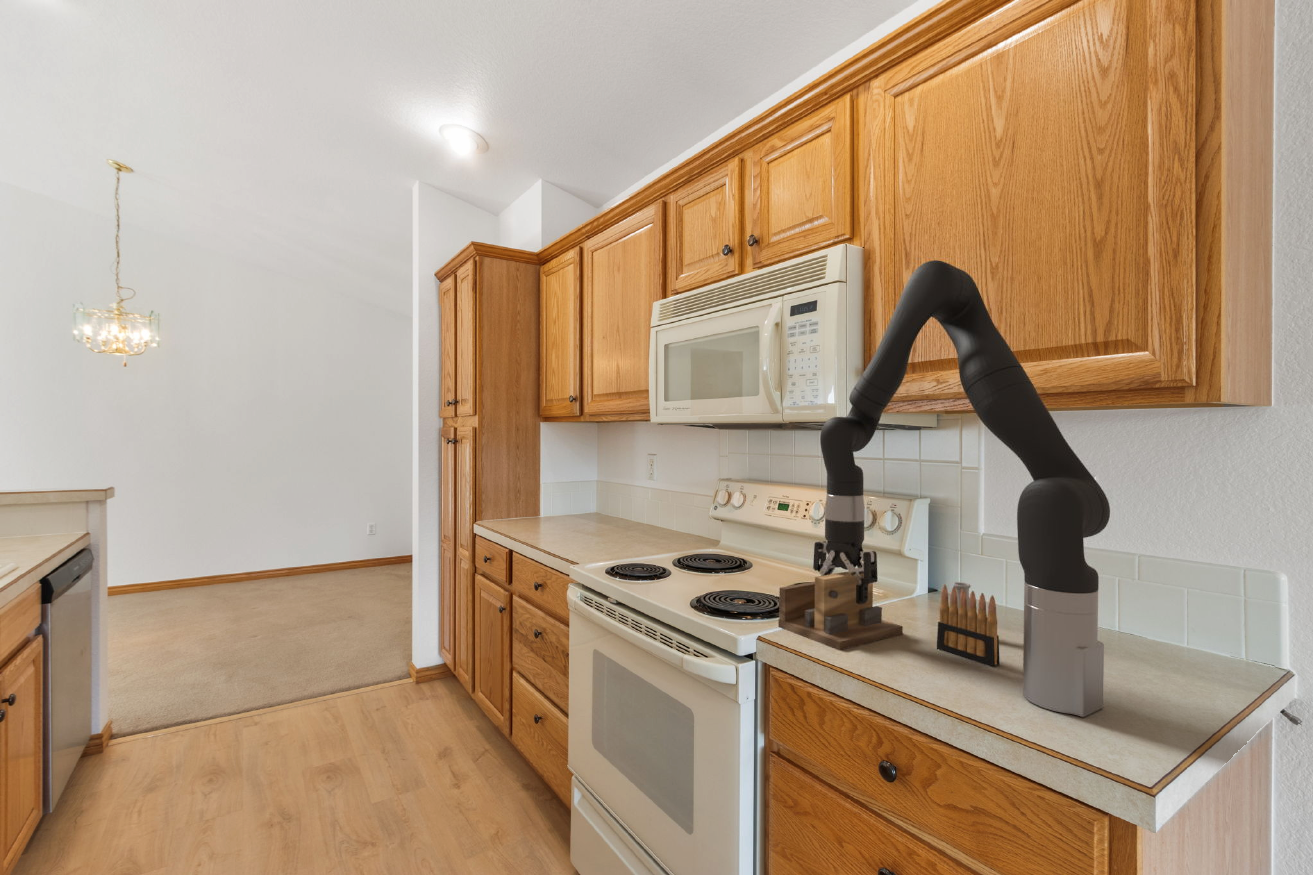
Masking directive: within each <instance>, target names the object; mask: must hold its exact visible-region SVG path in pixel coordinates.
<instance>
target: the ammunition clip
mask: <svg viewBox="0 0 1313 875" xmlns="http://www.w3.org/2000/svg"><path fill="white" fill-rule="evenodd" d="M996 604H997V603H996V600H995V597H994V595H993V594H992V595H990V598H989V601H988V610H987V602H986V598H985V595H984V593H983V592H981V594H980V595H979V600H978V605H977V597H976V594H975V591H974V590H971V592H970V593H969V609H968V611H967V597H966V593H965V590H964V589H962V591H961V594H960V604H959V611H958V603H957V592H956V589H955V587H954V586H953V587H952V588H951V591H950V597H949V593H948V588H947V585H946V584H943V586H942V589H941V594H940V606H939V621H938V622H937V636H936V650H938V649H939V651H941V652H944V653H948V654H951V655H954V656H957V657H960V658H963V659H967V660H968V661H969V660H970V661H972V662H975V663H979V664H981V665H985V666H988V667H991V668H994V667H998V666H1000V664H1001V662H1000V638H999V634H998V618H997V605H996ZM977 606H978V609H977Z"/></svg>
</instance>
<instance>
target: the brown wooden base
mask: <svg viewBox="0 0 1313 875" xmlns="http://www.w3.org/2000/svg"><path fill="white" fill-rule="evenodd" d="M778 594H779V599H778V600H779V602H778V603H779V607H778V608H779V610H778V612H779V613H778V614H779V616H778V617H779V618H778V625H777V626H778V628H781V629H784V630H786V629H787V631H790V632H792V633H794V634H797V635H800V636H802V637H805V638H807V639H810V640H811V641H814V642H818V643H820V644H823V645H825V646H828V647H831V648H833V649H835V650H838V651H841V650H845V649H849V648H852V647H853V648H854V647H856V646H859V645H864V644H867V643H873V642H876V641H880V640H884V639H887V638H891V637H895V636H899V635H903V629H904V628H903V625H900V624H898V623H895V622H894V623H893V622H889V621H887V620H884V619H882V617H883V616H882V615H883V613H882V612H883V607H882V606H878V605H875V606H873V607H870V608H865V609H861V610H860V623H858V624H854V625H850V626H848V615H847V614H843V613H842V614H837V615H833V616H828V617H825V631H821V630H818V629H816V628H814V624H815V581H811V582H804V583H798V584H792V585H786V586H782V587H781V586H780V587H779V593H778Z"/></svg>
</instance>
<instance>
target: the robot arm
mask: <svg viewBox="0 0 1313 875" xmlns="http://www.w3.org/2000/svg"><path fill="white" fill-rule="evenodd" d="M904 286H905V287H904V289H903V290H902V293H901V295H900V298H899V300H898V302H897V304H896V306H895V309H894V312H893V313H892V316H891V318H890V320H889V321H888V322H889V323H888V325H887V327H886V330H885V332H884V334H883V336H882V338H881V341H880V342H879V345H878V347H877V348H876V351H875V352H874V354H873V356H872V358H871V360H870V361H869V363H868V365H867V367H866V368H865V370H864V371H863V373H862V375H861V376H860V377H859V379H858V381H857V382H856V383H855V385H854V387H853V389H851V392H850V394H849V398H848V400H849V403H850V404H851V408H850V410H849V412H848V414H847V416H834V417H830V418H829V419H828V420H827V421H826V422H824V424H823V426H822V428H821V431H820V438H819V440H820V441H819V443H820V448H821V454H822V459H823V463H824V468H825V470H826V499H825V504H824V538H825V540H821V541H816V542H814V546H813V564H812V565H813V566H812V568H813V570H814V571H817V572H818V573H819V574H820V576H824V575H830V574H833V572H834V571H835V570H836V569H837V568H840V569H843V570H845V571H847V572H848V571H849V573H850V574H851V575H853V577H854V579H855V581H856V582H857V585H856V603H857V604H864V603H866V601H867V600H868V585H869V584H870V583H873V584H875V583H877V582H878V580H879V578H878V557H877V556H878V555H877V551H876V550H871V551H870V550H869V551H867V550H864V549H863V543H864V541H865V516H866V515H865V512H866V511H865V501H864V500H865V499H864V471H863V469H862V468H861V467H860V466H859V465H857V464H856V462H855V456H854V453H855V452H859V451H861V450H863V449H864V448H865V447H866V446H867V445H868V444H869V443H870V441H871V440H872V439H873V437H874V435H875V433H876V430H877V428H878V425H879V423H880V421H881V417H882V414H883V412H884V411H885V409H886V408H887V406H888V405H889V403H890V402H891V401H892V399H893V397H894V396H895V395H896V393H897V391H899V388H900V387H901V385H902V383H903V381H904V379H905V376H906V372H907V369H908V365H909V360H910V357H911V356H910V355H911V352H912V348H913V345H914V343H915V342H916V339H917V337H918V336H919V333H921V332H920V331H921V330H922V329H923V327H924V326H925V325H926V323H928V321H929V320H930V319H931V318H934V319H935V320H936V321H937V322H938V323H939V325H940V326H941V327H942V328H943V329H944V332H945V333H946V334H947V336H948V338H950V339H949V340H950V341H951V342H952V344H953V346H954V349H955V352H956V355H957V362H958V363H957V364H958V374H959V379H960V380H959V381H960V383H961V386H962V390H963V391H964V394H965V396H966V397H967V399H968V401H969V403H970V405H971V407H972V409H973V410H974V412H975V414H976V415H977V417H978V418H979V421H981V422H982V424H984V426H985V427H986V428H987V429H988V430H989V431H990V432H991V433H992V434H993V435H994V436H995V437H996V438H997V439H998V440H999V441H1000V442H1002V444H1004V445H1005V446H1006V447H1007V448H1008V449H1009V450H1010V451H1012V452H1013V453H1014V455H1015V456H1016V457H1017V458H1019V460H1020V461H1021V462H1022V464H1023V465H1024V466H1025V468H1026V469H1027V470H1028V471H1027V472H1028V473H1029V475H1030V477H1031V478H1032V480H1033V481H1031V482H1030V483H1029V484H1027V485H1026V486H1025V487H1024V488H1023V490H1022V492H1021V493H1020V496H1019V499H1018V503H1017V508H1016V510H1017V511H1016V512H1017V513H1016V514H1017V516H1016V522H1017V523H1016V524H1017V525H1016V526H1017V527H1016V529H1017V530H1016V531H1017V549H1018V550H1017V552H1018V558H1019V563H1020V565H1021V567H1022V570H1023V575H1024V579H1023V580H1024V581H1023V582H1024V585H1023V587H1024V589H1023V592H1024V593H1023V647H1022V648H1023V649H1022V650H1023V651H1022V656H1023V657H1022V660H1023V661H1022V668H1023V669H1022V695H1023V697H1024V698H1025V699H1026V700H1027V701H1028V702H1030V703H1032V704H1033V705H1036V706H1038V707H1041V708H1044V709H1046V710H1050V711H1054V712H1058V713H1061V714H1062V713H1063V714H1069V715H1074V716H1075V715H1076V716H1078V717H1081V718H1084V717H1087V716H1089V715H1091V714H1093V713H1095V712H1097V711H1099V710H1102V709H1103V708H1104V678H1105V677H1104V676H1105V675H1104V672H1105V671H1104V665H1105V661H1104V660H1105V655H1104V654H1105V644H1104V642H1102V641H1100V640H1098V639H1099V638H1098V635H1099V634H1098V632H1099V630H1098V629H1099V624H1098V623H1099V587H1100V586H1099V583H1100V582H1099V574H1098V571H1097V570H1096V569H1095V568H1094V567H1092V566H1090V565H1089V564H1088V563H1087V561H1086V558H1085V546H1084V545H1085V543H1084V541H1085V540H1084V539H1085V538H1090V537H1091V538H1092V537H1094V536H1095V535H1098V534H1100V533H1102V531H1103V530H1105V528H1106V527H1107V526H1108V523H1109V521H1110V517H1111V516H1110V515H1111V507H1110V502H1109V499H1108V497H1107V495H1106V493H1105V492H1104V490H1103V489H1102V487H1101V485H1100V484H1099V483H1098V482H1097V480H1096V479H1095V477H1094V476H1093V475H1092V474H1091V472H1090V471H1089V470H1088V468H1087V467H1086V466H1085V464H1084V463H1083V462H1082V460H1080V458H1079V457H1078V456H1077V454H1076V453H1075V452H1074V450H1073V449H1072V447H1071V446H1070V445H1069V443H1068V442H1067V440H1066V439H1065V437H1064V436H1063V434H1062V432H1061V430H1060V428H1059V427H1058V425H1057V423H1056V422H1055V420H1054V418H1053V416H1052V415H1051V413H1050V412H1049V409H1047V407H1046V405H1045V404H1044V402H1043V399H1042V398H1041V397H1040V394H1038V391H1037V389H1036V387H1035V385H1034V384H1033V382H1032V381H1031V379H1030V377H1029V375H1028V373H1027V372H1026V371H1025V369H1024V367H1023V366H1022V364H1021V362H1019V360H1018V358H1017V357H1016V356H1015V353H1014V352H1013V351H1012V349H1011V347H1010V346H1009V344H1008V343H1007V341H1006V340H1005V338H1004V337H1003V336H1002V335H1001V332H1000V331H999V330H998V328H997V327H996V325H995V323H994V321H993V320H992V318H991V316H990V313H989V311H988V308H987V307H986V304H985V302H984V300H983V297H982V295H981V292H980V291H979V288H978V285H977V284H976V282H975V280H974V279H973V277H972V276H971V275H970V274H969V273H968V272H966V270H963V269H960V268H958V267H956V266H954V265H952V264H951V263H948V262H945V261H943V260H936V259H935V260H929V261H926V262H924V263H922V264H921V265H920V266H918V267H917V268H916V269H915V270H914V271H913V272H912V274H911V275H910V277H909V279H908V281H907V282H906V283H905V285H904ZM827 555H828V556H827ZM870 572H871V573H870Z"/></svg>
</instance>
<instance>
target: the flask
mask: <svg viewBox="0 0 1313 875" xmlns="http://www.w3.org/2000/svg"><path fill="white" fill-rule="evenodd" d="M952 586H953V587H955V589H956V592H957V603H958V611H959V604H960V594H961V591H962V589H964V590H965V593H966V597H967V611H968V609H969V598H970V589H971V587H972V586H971V584H970V583H968V582H962V581H955V582H952Z"/></svg>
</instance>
